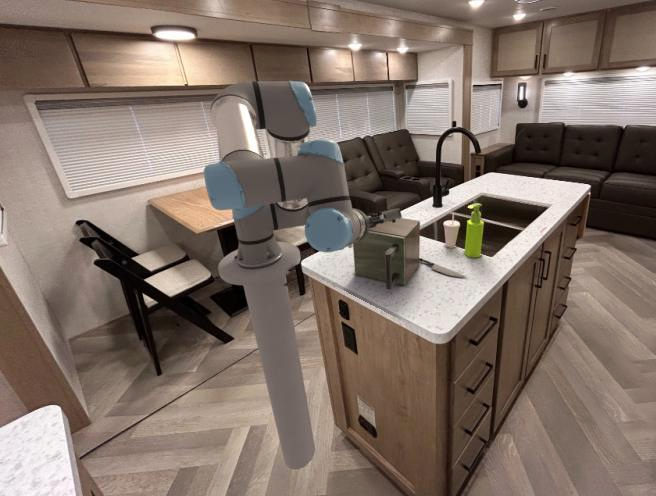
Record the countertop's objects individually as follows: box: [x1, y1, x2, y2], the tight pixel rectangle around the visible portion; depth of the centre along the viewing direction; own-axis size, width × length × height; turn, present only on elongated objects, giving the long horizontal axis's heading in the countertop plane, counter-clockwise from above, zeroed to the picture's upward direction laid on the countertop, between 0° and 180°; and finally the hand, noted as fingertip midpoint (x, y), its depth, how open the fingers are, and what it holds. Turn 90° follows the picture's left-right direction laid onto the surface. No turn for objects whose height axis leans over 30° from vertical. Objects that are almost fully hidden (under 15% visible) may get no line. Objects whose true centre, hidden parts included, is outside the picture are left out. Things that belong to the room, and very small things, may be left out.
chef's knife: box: [419, 257, 467, 278], centre depth 110 cm, size 19×1×3 cm
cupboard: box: [368, 217, 421, 285], centre depth 108 cm, size 13×18×17 cm
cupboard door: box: [352, 231, 406, 291], centre depth 99 cm, size 8×18×17 cm, turn 67°
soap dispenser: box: [464, 202, 485, 259], centre depth 117 cm, size 6×7×20 cm
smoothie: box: [443, 212, 461, 249], centre depth 125 cm, size 6×6×14 cm
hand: (368, 221), depth 88 cm, fingers open, 13 cm apart
